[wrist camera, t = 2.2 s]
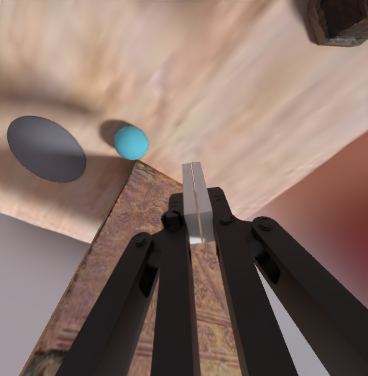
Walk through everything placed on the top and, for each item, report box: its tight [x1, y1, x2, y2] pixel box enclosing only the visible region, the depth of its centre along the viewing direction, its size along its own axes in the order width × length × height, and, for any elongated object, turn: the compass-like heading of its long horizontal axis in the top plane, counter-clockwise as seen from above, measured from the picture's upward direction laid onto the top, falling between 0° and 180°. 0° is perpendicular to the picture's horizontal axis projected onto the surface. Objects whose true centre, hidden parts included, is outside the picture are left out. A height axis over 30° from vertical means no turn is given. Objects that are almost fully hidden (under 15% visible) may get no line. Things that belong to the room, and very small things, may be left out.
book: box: [19, 160, 242, 376], centre depth 26 cm, size 25×9×30 cm, turn 55°
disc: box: [7, 116, 85, 182], centre depth 30 cm, size 13×13×1 cm
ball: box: [114, 126, 148, 160], centre depth 27 cm, size 6×6×6 cm
